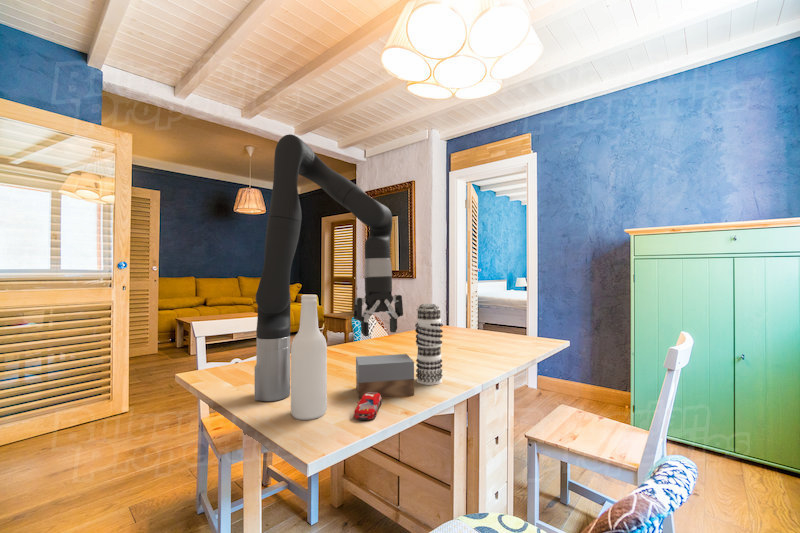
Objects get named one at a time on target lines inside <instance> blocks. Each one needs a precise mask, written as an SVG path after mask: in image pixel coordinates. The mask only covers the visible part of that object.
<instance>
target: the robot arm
mask: <svg viewBox="0 0 800 533" xmlns="http://www.w3.org/2000/svg"><path fill="white" fill-rule="evenodd" d="M273 160H274V161H273V183H272V184H273V185H272V188H271V189H272V190H271V198H270V204H269V210H268V217H267V221H266V222H267V224H266V230H265V239H264V240H265V241H264V261H263V268H262V271H261V272H262V273H261V276H260V280H259V284H258V287H257V290H256V293H255V302H256V303H255V304H256V305H257V318H256V320H257V321H256V361H255V362H256V364H255V365H254V401H261V402H274V401H280V400H284V399H286V398H288V397H289V396H291V292H290V291H291V290H290V287H291V286H290V285H291V271H292V270H291V269H292V265H293V260H294V258H295V254H296V252H297V251H296V250H297V246H298V243H299V238H300V235H301V234H300V232H301V227H302V226H301V225H302V219H303V218H302V217H303V216H302V207H301V202H300V196H299V191H298V180H299V179H298V178H299V176H301V177H303V178H305V179H307V180H310V181H311V182H313V183H315V185H317V186H318V187H320V188H321V190H323V191H324V192H326V194H327V195H328V196H330V197H331V198H332V199H333V200H334V201H335V202H337V203H338V204H340V205H341V206H342V207H344V208H345V209H346V210H348V211H349V212H351V214H352V215H354V216H355V218H357V219H358V220H359V221H360V222H361V223H363V224H364V225H365V226H367V227H369V228H368V230H369V233H368V238H366V240H365V242H364V266H363V268H364V273H363V274H364V294H365V295H364V297H358V296H357V297H354V299H353V302H354V303H353V320H355V321H358V322H360V332H361V335H362V336H364V337H369V335H370V332H369V330H370V327H369V325H370V324H369V322H368V321H369V320H370V318H371V316H373V314H374V313H380V312H382V313H384V312H385V313H386V314H387V315H388V316H389V331H390V333H396V332H397V330H398V318H400V317H402V316H404V308H403V297H402V296H403V295H401V294H394V295H393V293H392V291H393V271H392V261H391V243H390V242H391V238H392V237H391V236H392V229H393V215H392V212H391V210H390V209H389V207H387V206H386V205H385V204H382V203H381V202H379V201H378V200H376V199H375V198H373V197H371V196H370V195H368V194H367V193H366V192H365V191H364V190H363V189H362V188H361V187H360V186H358V185H356V183H354V182H352V180H350V179H349V178H347V177H345V176H344V175H342V174H340V173H338V172H337V171H335V170H333V169H332V168H330V167H329V166H328V165H327V164H325V163H324V162H323V160H322V159H320V158H319V156H318V155H317V154H316V153H315V152H314V151H313V150H312V148H311V147H310V146H309V145H308V144H307V143H305V141H304V140H302V139H301V138H299V137H298V136H296V135H295V134H291V133H290V134H289V133H288V134H285V135H284V136H282V137H281V138H280V139H279V140H278V141H277V143H276V146H275V149H274V159H273ZM364 303H365V305H366V306H365V308H364V309H363V306H364ZM392 303H393V305H394V307H393V306H392Z"/></svg>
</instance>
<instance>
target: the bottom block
mask: <svg viewBox="0 0 800 533" xmlns="http://www.w3.org/2000/svg"><path fill="white" fill-rule="evenodd" d="M355 376H356V377H355V378H356V380H355V381H356V382H355V383H356V384H355V385H356V386H355V387H356V393H357V398H358V401H360V400H361V398H362V397H363V395H364V394H365V393H368V392H375V393H380V395H381V399H385V398H401V397H413V395H414V396H415V378H414V379H408V380H394V381H380V382H365V383H359V382H358V378H357V375H355Z"/></svg>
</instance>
